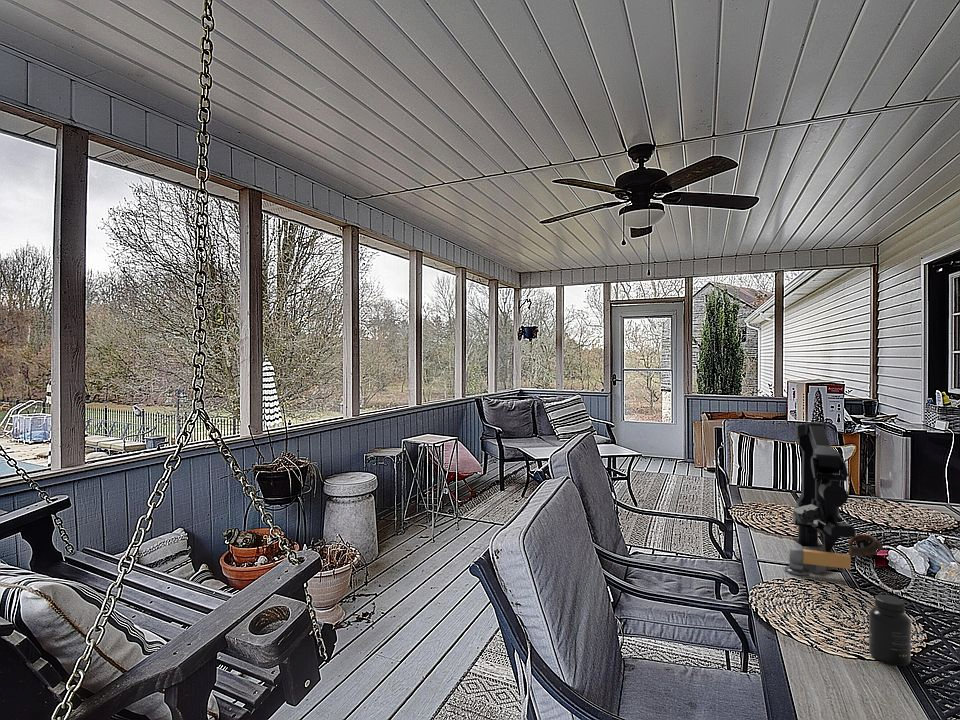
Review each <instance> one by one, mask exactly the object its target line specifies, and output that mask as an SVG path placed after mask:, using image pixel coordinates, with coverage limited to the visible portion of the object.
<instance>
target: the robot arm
mask: <svg viewBox="0 0 960 720" xmlns="http://www.w3.org/2000/svg"><path fill="white" fill-rule="evenodd" d="M794 429H795V430H794V437H795V439H796V443H797V445H798V446H799V447H800V450H801V451H802V452H801V453H802V454H801V455H802V457H801V460H802V461H801V463H802V464H801V469H802V470H801V494H800V495H799V497H798V498H797V499H796V502H795V506H794V507H793V509H792V522H793V524H794V526H797V537H796V538H793V540H794V541H795V542H796V543H798V544H799V545H801V546H803V547H822V548H823V550H824V551H823V552H831V551H832V549H833V547H834V546H835V545H836V543H837V541H838V540H839V538H840V537H841V538H852V537H856V535H857V532H856V531H857V529H856V528H855V527H854V526H852V525H851V524H849V523H847V522H843V517H842V516H840V508H842V507H843V505H845V504H846V503H847V502H848V500H849V493H848V492H847V490H846V489H845V488H844V487H843V486H841V482H847V480H848V479H847V478H848V476H849V474H848V468H847V465H846V462H845V461H844V458H843V457H841V454H840V453H839V451H838V450H837V449H835V448H833V447H832V446H831V442H830V440H829V437H828V427H827V426H826V424H825V423H823V422H819V421H817V422H816V421H815V422H814V421H808V422H805V423H804V424H799V425H797V426H796V427H795V428H794ZM819 538H820V542H821V543H820V542H819Z"/></svg>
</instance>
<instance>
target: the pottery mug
mask: <svg viewBox="0 0 960 720" xmlns="http://www.w3.org/2000/svg"><path fill="white" fill-rule="evenodd" d="M853 543H854V544H855V546H854V545H853ZM877 549H878V550H883V551H884V546H883V544H882V543H881V542H880V541H879V540H877V539H876V538H875V536H872V535H869V534H864V533H863V534H861V533H860V534H856V537H850V539H849V540H848V554H849V555H850V556H851V559H854V557H863V558H864V557H869V556H873V555H877V552H876V550H877Z"/></svg>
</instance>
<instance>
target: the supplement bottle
mask: <svg viewBox="0 0 960 720" xmlns="http://www.w3.org/2000/svg"><path fill="white" fill-rule="evenodd" d="M874 600H875V601H874V607H873V608H871V609H870V611H869V615H868V651H869V653H870V655H871V656H872V657H873V658H874V659H876V660H878V661H879V662H882V663H885V664H887V665H891V666H895V667H905V666H908V665H909V664H910V663H911V655H912V654H911V653H912V650H911V649H912V646H911V645H912V644H911V643H912V641H911V640H912V639H911V638H912V635H911V633H912V627H911V626H912V623H911V619H910V618H909V616H908V615H907V614H905V613H906V608H905V601H904V600H903V599H900V598H899V597H896V596H893V595H888V594H876V595H875V598H874Z"/></svg>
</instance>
